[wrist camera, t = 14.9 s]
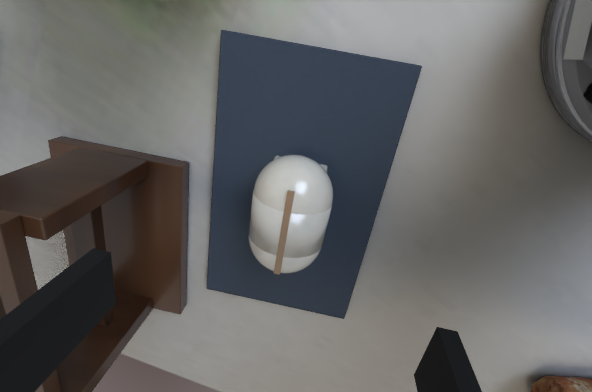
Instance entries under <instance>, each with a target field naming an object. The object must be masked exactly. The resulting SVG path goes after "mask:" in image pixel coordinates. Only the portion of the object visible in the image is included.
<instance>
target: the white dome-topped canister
mask: <svg viewBox="0 0 592 392" xmlns="http://www.w3.org/2000/svg"><path fill="white" fill-rule="evenodd" d="M327 168H328V166H327V165H322V164H319V163H317V162H316V161H314V160H313V159H311V158H309V157H306V156H302V155H293V154H292V155H285V156H275V158H274V160H272V161H271V162H269V163H268V164H267V165H266V166H265V167H264V168H263V169H262V170H261V172H260V173H259V175H258V177H257V179H256V181H255V185H254V189H253V198H252V207H251V215H250V224H249V232H248V233H249V245H250V248H251V251H252V253H253V255H254V256H255V258H256V259H257V260H258V261H259V262H260V263H261V264H262V265H263V266H264V267H266V268H267V269H269V270H271V271H274V274H278V275H280V273H295V272H298V271H300V270H302V269H305V268H307V267H308V266H309V265H310V264H311V263H312V262H314V260H315V259H316V258H317V256H318V255H319V253H320V251H321V248H322V245H323V241H324V237H325V233H326V229H327V225H328V220H329V216H330V212H331V208H332V203H333V196H334V195H333V186H332V183H331V180H330V177H329V176H328V174H327Z"/></svg>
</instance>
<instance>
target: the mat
mask: <svg viewBox="0 0 592 392" xmlns="http://www.w3.org/2000/svg"><path fill="white" fill-rule="evenodd" d="M421 68H422V66H419V65H414V64H408V63H403V62H397V61H391V60H386V59H380V58H375V57H369V56H364V55H358V54H353V53H347V52H342V51H336V50H331V49H325V48H320V47H314V46H308V45H303V44H297V43H292V42H286V41H281V40H275V39H270V38H264V37H259V36H253V35H248V34H242V33H237V32H231V31H226V30H221V45H220V62H219V80H218V98H217V115H216V133H215V150H214V168H213V186H212V203H211V221H210V239H209V256H208V274H207V289H211V290H216V291H220V292H225V293H229V294H234V295H238V296H243V297H247V298H252V299H256V300H261V301H265V302H270V303H275V304H279V305H284V306H288V307H293V308H297V309H302V310H306V311H311V312H315V313H320V314H324V315H329V316H333V317H338V318H343V319H344V317H345V314H346V311H347V308H348V304H349V301H350V298H351V295H352V291H353V288H354V285H355V282H356V278H357V275H358V272H359V269H360V266H361V262H362V259H363V256H364V253H365V249H366V246H367V243H368V240H369V236H370V233H371V230H372V227H373V223H374V220H375V217H376V214H377V210H378V207H379V204H380V201H381V197H382V194H383V191H384V188H385V185H386V181H387V178H388V175H389V172H390V168H391V165H392V162H393V159H394V155H395V152H396V149H397V146H398V142H399V139H400V136H401V133H402V129H403V126H404V123H405V120H406V117H407V113H408V110H409V107H410V104H411V100H412V97H413V94H414V91H415V87H416V84H417V81H418V78H419V74H420V71H421ZM292 154H293V155H302V156H306V157H309V158H311V159H313V160H314V161H316V162H317V163H319V164H322V165H327V166H328V168H327V174H328V176H329V177H330V180H331V183H332V186H333V195H334V196H333V203H332V208H331V212H330V216H329V220H328V225H327V229H326V233H325V237H324V241H323V245H322V248H321V251H320V253H319V255H318V256H317V258H316V259H315V260H314V262H312V263H311V264H310V265H309V266H308V267H307V268H305V269H302V270H300V271H298V272H295V273H280V275H278V274H274V271H271V270H269V269H267V268H266V267H264V266H263V265H262V264H261V263H260V262H259V261H258V260H257V259H256V258H255V256H254V255H253V253H252V251H251V248H250V245H249V233H248V232H249V224H250V215H251V207H252V198H253V189H254V185H255V181H256V179H257V177H258V175H259V173H260V172H261V170H262V169H263V168H264V167H265V166H266V165H267V164H268V163H269V162H271V161H272V160H274V158H275V156H285V155H292Z"/></svg>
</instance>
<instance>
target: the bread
mask: <svg viewBox="0 0 592 392" xmlns="http://www.w3.org/2000/svg"><path fill="white" fill-rule="evenodd" d="M531 392H592V379H587V378H580V377H565V376H544V377H542V378H540V380H538V381H535V382H534V383H533V385H532V389H531Z"/></svg>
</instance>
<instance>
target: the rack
mask: <svg viewBox="0 0 592 392" xmlns="http://www.w3.org/2000/svg"><path fill="white" fill-rule="evenodd" d="M48 142H49V148H50V154H51V158H49V159H47V160H44V161H41V162H38V163H36V164H33V165H30V166H27V167H24V168H22V169H19V170H16V171H13V172H10V173H8V174H5V175H2V176H0V319H1V318H3V317H4V316H5V315H7V314H8V313H9V312H11V311H12V310H13V309H14V308H16V307H17V306H18V305H20V304H21V303H22V302H24V301H25V300H26V299H27V298H29V297H30V296H31V295H33V294H34V293H35V292H37V291H38V289H37V285H36V281H35V276H34V272H33V268H32V264H31V259H30V255H29V251H28V247H27V242H26V238H25V236H28V237H33V238H37V239H42V240H47V239H49V238H50V237H52V236H53V235H55V234H57V233H58V232H60V231H61V230H64V235H65V241H66V247H67V253H68V259H69V265H70V266H71V265H72V264H73V263H74V262H76V261H77V260H78V259H80V258H81V257H82V256H84V255H85V254H86V253H88V252H89V251H90V250H91V249H93V248H95V249H99V250H103V251H108V252H111V257H112V267H113V277H114V287H115V296H116V304H115V305H114V306H113V307H112V309H111V310H110V311H109V312H108V313H107V314H106V315H105V316H104V317H103V318H102V319H101V320H100V322H99V323H98V324H97V325H96V326H95V327H94V328H93V329H92V330H91V331H90V332H89V334H88V335H87V336H86V337H85V338H84V339H83V340H82V341H81V342H80V343H79V344H78V345H77V347H76V348H75V349H74V350H73V351H72V352H71V353H70V354H69V355H68V356H67V357H66V358H65V360H64V361H63V362H62V363H61V364H60V365H59V366H58V367H57V368H56V369H55V370H54V371H53V373H52V374H51V375H50V376H49V377H48V378H47V379H46V380H45V381H44V382H43V383H42V384H41V386H40V387H39V388H38V389H37V390H36V391H35V392H92V391H93V389H94V388H95V387H96V385H97V384H98V383H99V381H100V380H101V379H102V377H103V376H104V374H105V373H106V372H107V370H108V369H109V368H110V366H111V365H112V364H113V362H114V361H115V359H116V358H117V357H118V355H119V354H120V353H121V351H122V350H123V349H124V347H125V346H126V345H127V343H128V342H129V341H130V339H131V338H132V336H133V335H134V334H135V332H136V331H137V330H138V328H139V327H140V326H141V324H142V323H143V322H144V320H145V319H146V317H147V316H148V315H149V313H150V312H151V311H152V309H153V308H155V309H159V310H164V311H168V312H173V313H177V314H181V312H182V311H183V309H184V308H185V306H186V287H187V242H188V196H189V162H185V161H180V160H175V159H170V158H165V157H160V156H155V155H150V154H145V153H140V152H135V151H131V150H126V149H121V148H116V147H111V146H106V145H101V144H96V143H91V142H86V141H81V140H76V139H71V138H66V137H57V138H54V139H51V140H48Z"/></svg>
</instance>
